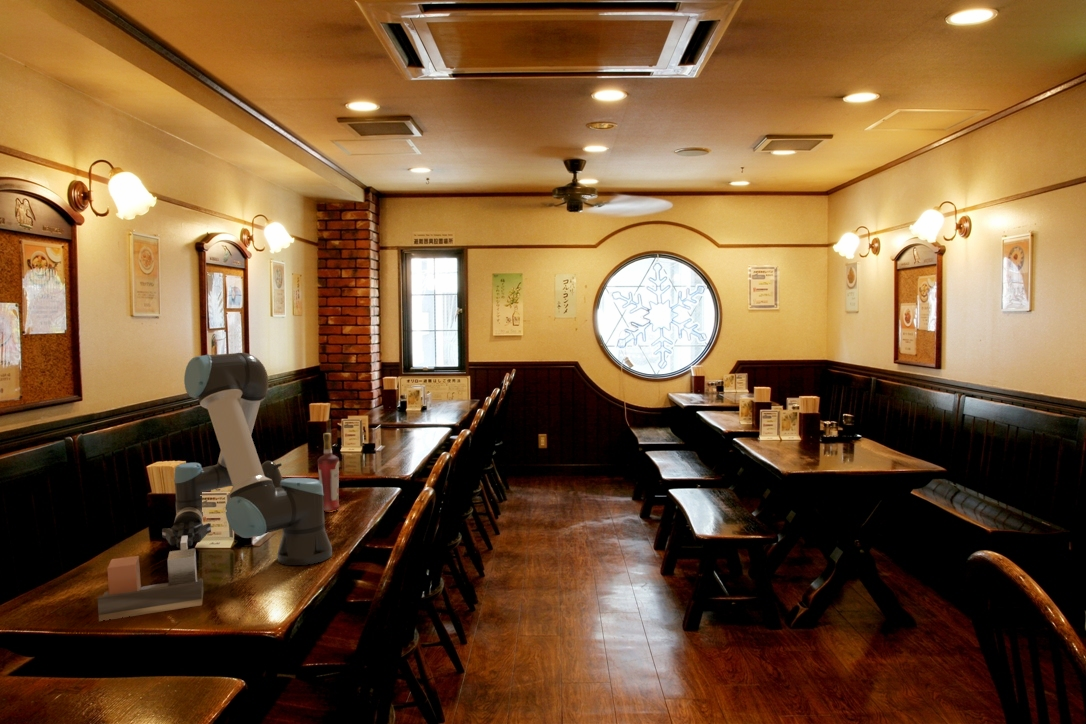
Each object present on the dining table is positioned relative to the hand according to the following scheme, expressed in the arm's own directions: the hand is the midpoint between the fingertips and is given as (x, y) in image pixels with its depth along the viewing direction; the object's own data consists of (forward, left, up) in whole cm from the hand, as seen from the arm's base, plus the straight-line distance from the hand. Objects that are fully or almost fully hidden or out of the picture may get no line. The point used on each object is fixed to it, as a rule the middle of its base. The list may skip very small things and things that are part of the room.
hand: (183, 547), depth 197 cm
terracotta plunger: (+10, +13, -8) cm, 18 cm away
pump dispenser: (-4, -84, -9) cm, 84 cm away
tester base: (+2, +16, -9) cm, 18 cm away
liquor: (-29, -64, -9) cm, 70 cm away
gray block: (-3, +10, -8) cm, 13 cm away
